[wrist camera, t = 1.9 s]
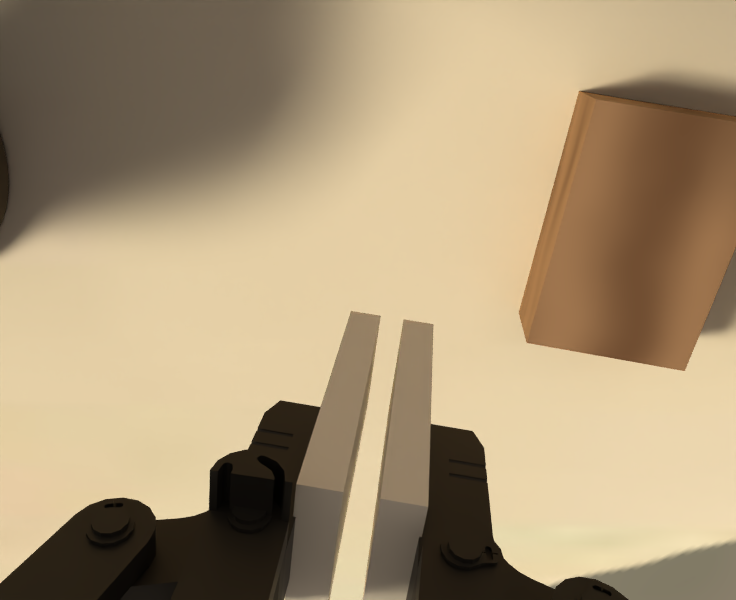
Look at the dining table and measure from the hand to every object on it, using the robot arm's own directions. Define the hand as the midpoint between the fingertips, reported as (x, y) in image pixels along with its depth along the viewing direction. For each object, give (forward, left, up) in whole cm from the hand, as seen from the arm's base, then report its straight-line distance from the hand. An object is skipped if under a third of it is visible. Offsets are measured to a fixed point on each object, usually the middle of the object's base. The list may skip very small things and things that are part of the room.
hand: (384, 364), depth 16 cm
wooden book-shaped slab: (+11, 0, -19) cm, 22 cm away
